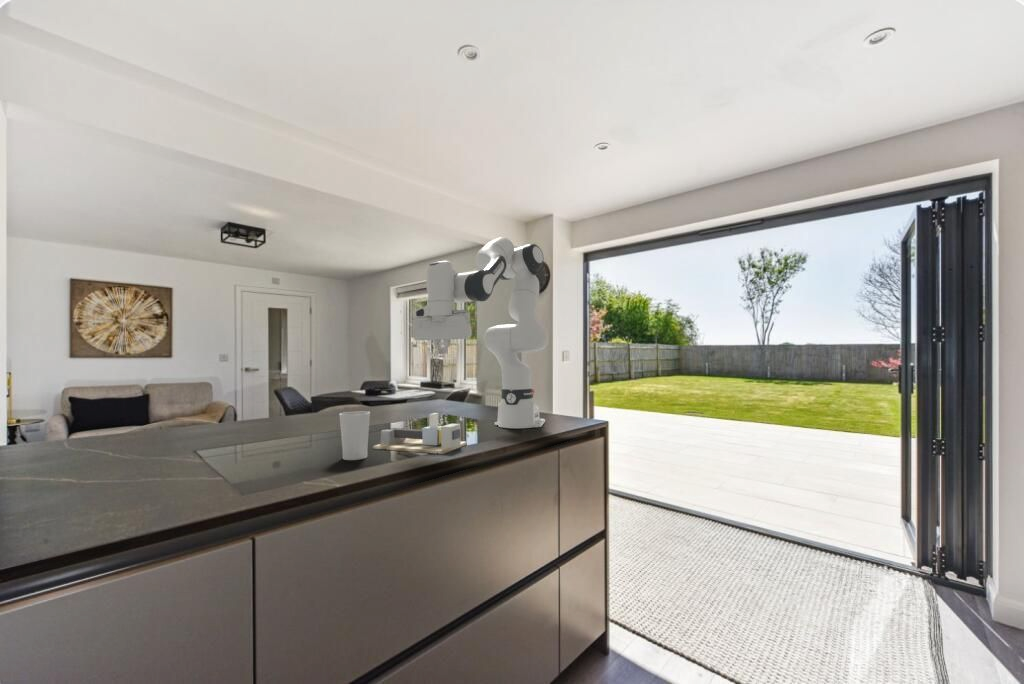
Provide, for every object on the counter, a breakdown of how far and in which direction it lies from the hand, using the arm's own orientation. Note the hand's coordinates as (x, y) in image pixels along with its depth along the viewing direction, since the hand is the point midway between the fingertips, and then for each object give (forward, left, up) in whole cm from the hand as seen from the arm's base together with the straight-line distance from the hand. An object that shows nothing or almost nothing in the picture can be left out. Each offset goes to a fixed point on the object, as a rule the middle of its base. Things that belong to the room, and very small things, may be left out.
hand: (442, 353), depth 143 cm
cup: (+28, -11, -28) cm, 41 cm away
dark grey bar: (+10, -3, -26) cm, 28 cm away
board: (+10, -2, -28) cm, 30 cm away
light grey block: (+10, -12, -28) cm, 32 cm away
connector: (+10, +8, -28) cm, 31 cm away
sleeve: (+10, +3, -27) cm, 28 cm away
